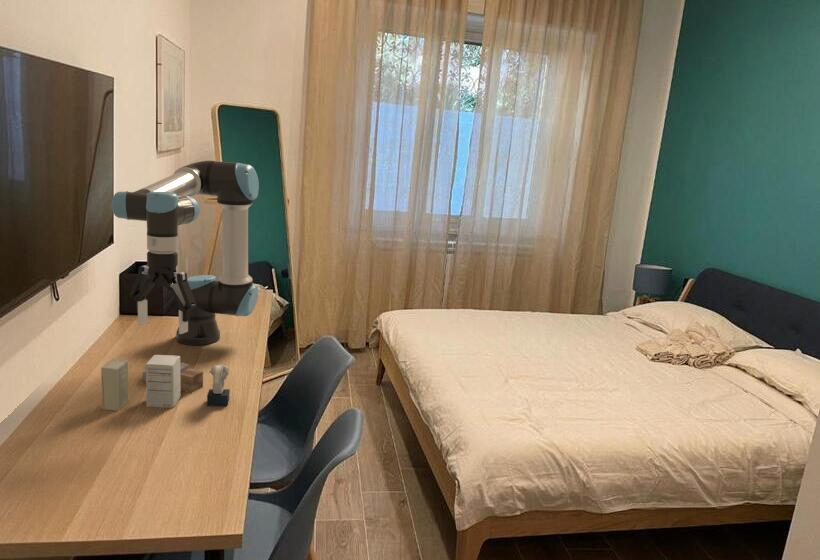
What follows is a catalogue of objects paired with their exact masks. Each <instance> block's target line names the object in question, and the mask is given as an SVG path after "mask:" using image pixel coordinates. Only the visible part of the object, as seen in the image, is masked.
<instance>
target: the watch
mask: <svg viewBox="0 0 820 560" xmlns="http://www.w3.org/2000/svg"><path fill="white" fill-rule="evenodd" d="M229 372H230V369H229V367H228V366H227V365H224V364H215V365H213V366H212V367H211V369H210V370H209V373H210V374H211V375H212V377H213V379H212V381H213V382H212V388H209V389H208V392H207V394H206V395H207V396H206V407H222V406H223V407H228V406H229V403H228V402H229V401H230V391H231V390H230V388H228V389H227V388H226V389H225V388H224V387H225V380H227V377H228V375H229ZM227 405H228V406H227Z"/></svg>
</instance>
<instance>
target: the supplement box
mask: <svg viewBox="0 0 820 560" xmlns="http://www.w3.org/2000/svg"><path fill="white" fill-rule="evenodd" d="M180 362H181V356H180V355H170V354H153V355H152V357H150V359H149V360H148V361H147V362H146V363H145V371H146V382H145V394H146V395H145V396H146V397H145V399H146V407H149V408H167V409H169V408H170V409H172V408H173V409H174V407H175V406H176V404H177V403H178V401H179V399H180V398H181V392H182V390H181V387H180Z"/></svg>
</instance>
